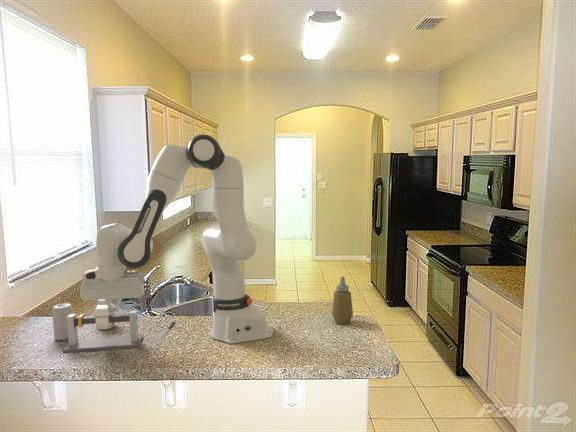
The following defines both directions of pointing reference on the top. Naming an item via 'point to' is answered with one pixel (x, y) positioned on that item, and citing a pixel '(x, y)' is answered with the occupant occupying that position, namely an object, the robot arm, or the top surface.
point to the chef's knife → (164, 331)
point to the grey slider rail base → (102, 342)
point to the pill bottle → (102, 302)
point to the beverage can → (61, 320)
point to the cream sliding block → (102, 317)
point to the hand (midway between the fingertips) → (114, 311)
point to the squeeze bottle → (342, 303)
